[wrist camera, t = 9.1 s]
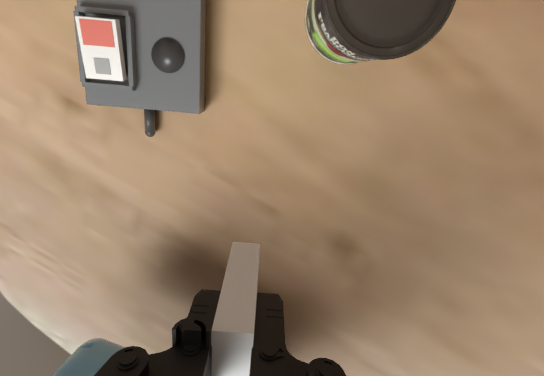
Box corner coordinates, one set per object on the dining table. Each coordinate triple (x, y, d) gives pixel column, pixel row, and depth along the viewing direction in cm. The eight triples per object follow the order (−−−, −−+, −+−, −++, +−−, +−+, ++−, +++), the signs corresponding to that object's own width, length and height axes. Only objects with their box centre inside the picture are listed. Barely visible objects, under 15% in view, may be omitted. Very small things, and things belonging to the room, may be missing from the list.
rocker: (126, 79, 37) (123, 81, 36) (90, 76, 37) (85, 78, 36) (119, 19, 34) (114, 19, 33) (79, 15, 34) (74, 16, 33)
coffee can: (355, 82, 40) (396, 86, 27) (287, 29, 38) (294, 4, 25) (413, 5, 37) (491, -35, 24) (343, -57, 35) (385, -137, 22)
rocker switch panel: (203, 139, 42) (197, 145, 39) (102, 130, 42) (85, 136, 38) (208, -154, 33) (200, -184, 29) (77, -168, 32) (51, -200, 29)
